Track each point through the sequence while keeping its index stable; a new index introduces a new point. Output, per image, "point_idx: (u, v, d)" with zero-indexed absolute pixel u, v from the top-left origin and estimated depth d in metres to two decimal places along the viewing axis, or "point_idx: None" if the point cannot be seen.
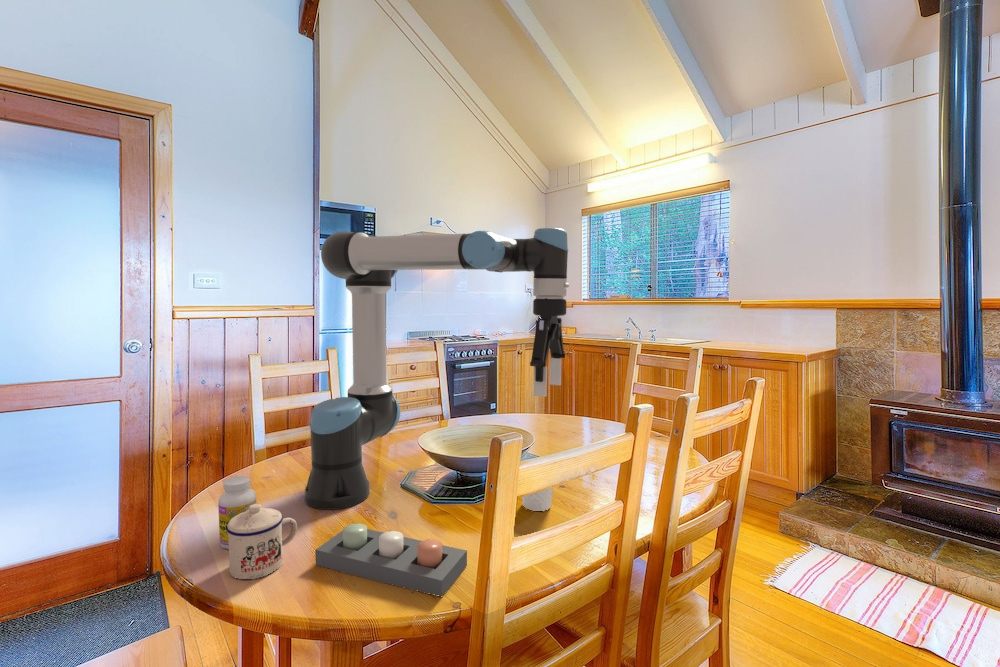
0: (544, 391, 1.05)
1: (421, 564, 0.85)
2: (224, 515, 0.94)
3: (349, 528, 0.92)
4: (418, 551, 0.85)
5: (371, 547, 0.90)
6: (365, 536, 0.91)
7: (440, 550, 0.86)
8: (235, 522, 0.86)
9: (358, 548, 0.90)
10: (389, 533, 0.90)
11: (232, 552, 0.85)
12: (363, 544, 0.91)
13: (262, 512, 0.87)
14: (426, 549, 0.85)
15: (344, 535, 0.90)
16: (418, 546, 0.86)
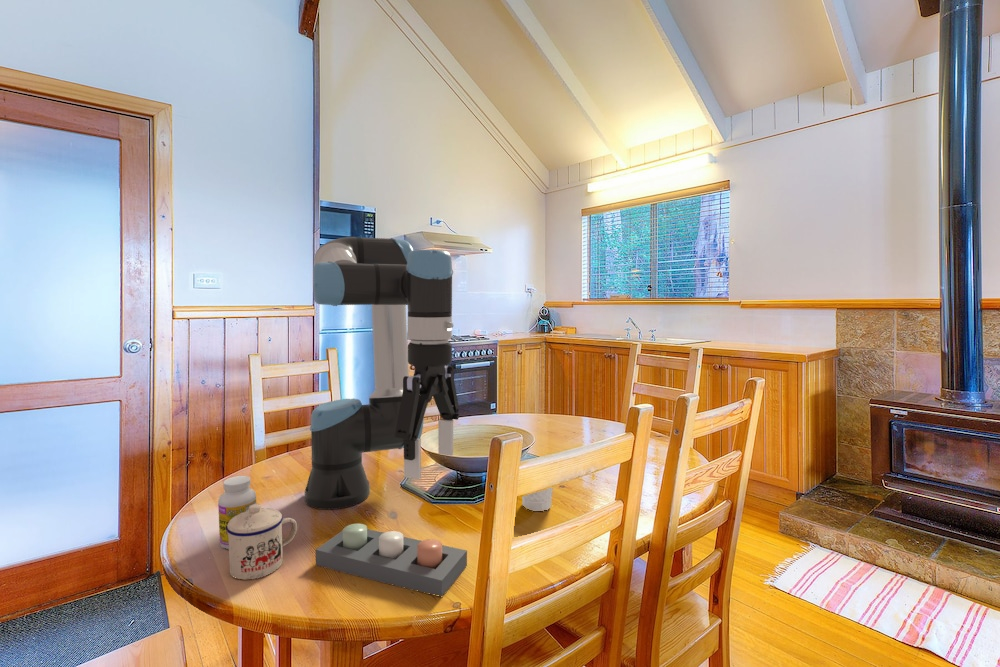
0: (417, 472, 0.79)
1: (421, 564, 0.85)
2: (224, 515, 0.94)
3: (349, 528, 0.92)
4: (418, 551, 0.85)
5: (371, 547, 0.90)
6: (365, 536, 0.91)
7: (440, 550, 0.86)
8: (235, 522, 0.86)
9: (358, 548, 0.90)
10: (389, 533, 0.90)
11: (232, 552, 0.85)
12: (363, 544, 0.91)
13: (262, 512, 0.87)
14: (426, 549, 0.85)
15: (344, 535, 0.90)
16: (418, 546, 0.86)
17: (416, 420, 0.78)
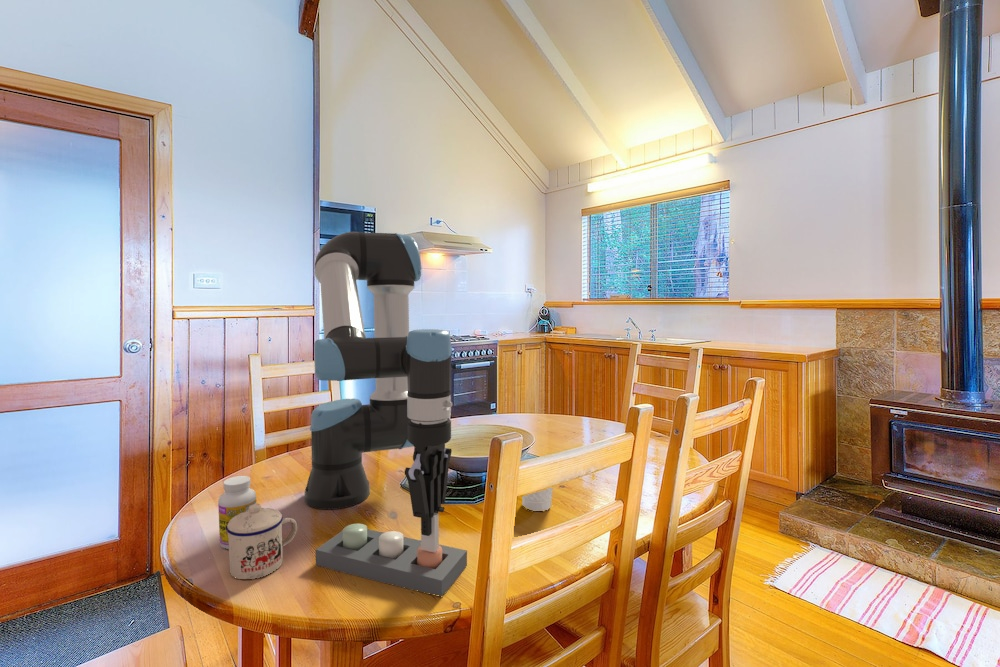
0: (433, 546, 0.85)
1: None
2: (224, 515, 0.94)
3: (349, 528, 0.92)
4: (418, 556, 0.85)
5: (371, 547, 0.90)
6: (365, 536, 0.91)
7: (440, 555, 0.86)
8: (235, 522, 0.86)
9: (358, 548, 0.90)
10: (389, 533, 0.90)
11: (232, 552, 0.85)
12: (363, 544, 0.91)
13: (262, 512, 0.87)
14: (426, 553, 0.85)
15: (344, 535, 0.90)
16: (418, 551, 0.86)
17: (428, 501, 0.83)
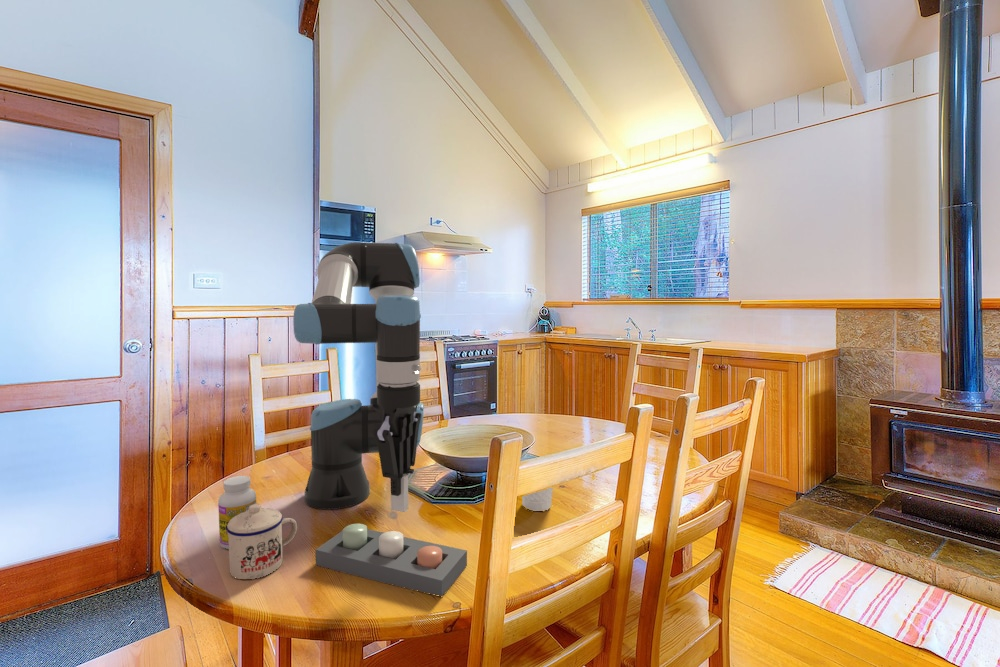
0: (402, 506, 0.88)
1: None
2: (224, 515, 0.94)
3: (349, 528, 0.92)
4: (418, 558, 0.85)
5: (371, 547, 0.90)
6: (365, 536, 0.91)
7: (440, 557, 0.86)
8: (235, 522, 0.86)
9: (358, 548, 0.90)
10: (389, 533, 0.90)
11: (232, 552, 0.85)
12: (363, 544, 0.91)
13: (262, 512, 0.87)
14: (426, 556, 0.85)
15: (344, 535, 0.90)
16: (418, 553, 0.86)
17: (397, 462, 0.86)
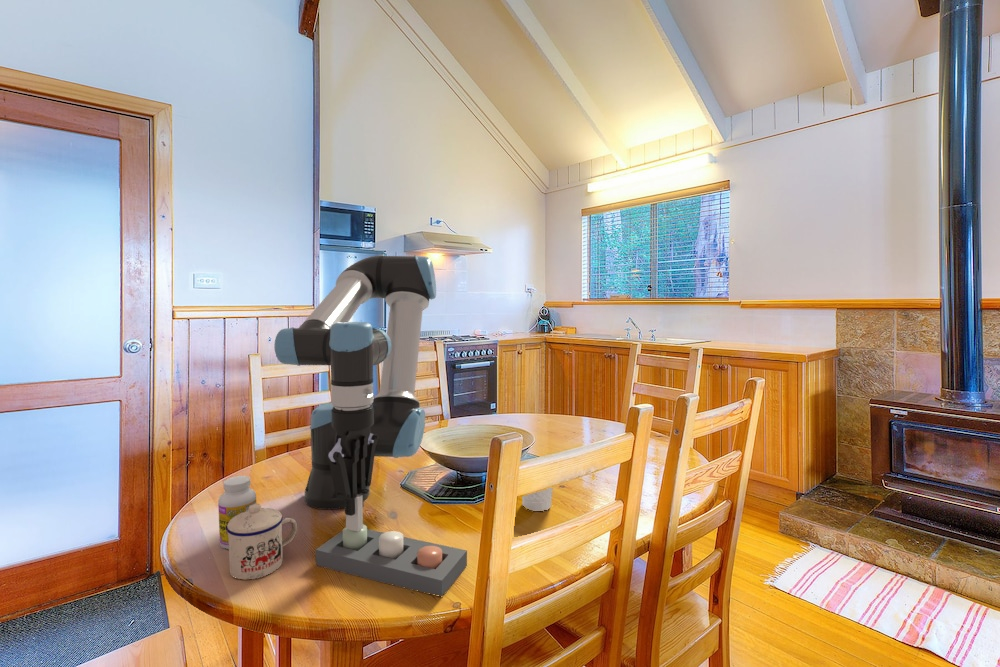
0: (356, 525, 0.91)
1: None
2: (224, 515, 0.94)
3: None
4: (418, 558, 0.85)
5: (371, 547, 0.90)
6: (365, 536, 0.91)
7: (440, 557, 0.86)
8: (235, 522, 0.86)
9: (358, 548, 0.90)
10: (389, 533, 0.90)
11: (232, 552, 0.85)
12: (363, 544, 0.91)
13: (262, 512, 0.87)
14: (426, 556, 0.85)
15: (344, 535, 0.90)
16: (418, 553, 0.86)
17: (350, 483, 0.89)
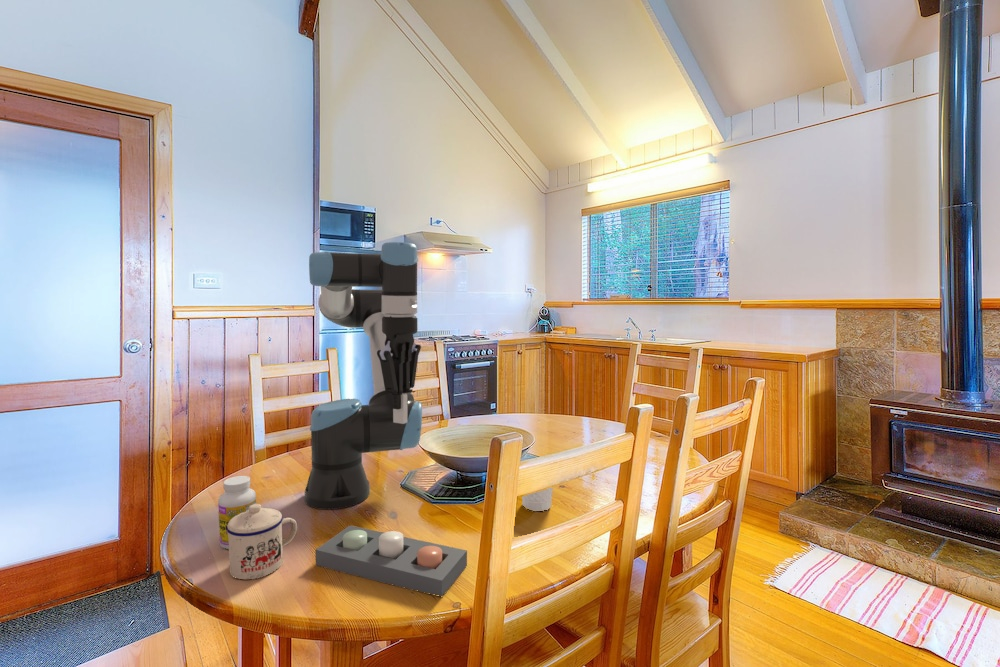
0: (402, 418, 1.06)
1: None
2: (224, 515, 0.94)
3: (349, 534, 0.92)
4: (418, 558, 0.85)
5: (371, 547, 0.90)
6: (365, 542, 0.92)
7: (440, 557, 0.86)
8: (235, 522, 0.86)
9: None
10: (389, 533, 0.90)
11: (232, 552, 0.85)
12: None
13: (262, 512, 0.87)
14: (426, 556, 0.85)
15: (344, 541, 0.90)
16: (418, 553, 0.86)
17: (397, 380, 1.04)
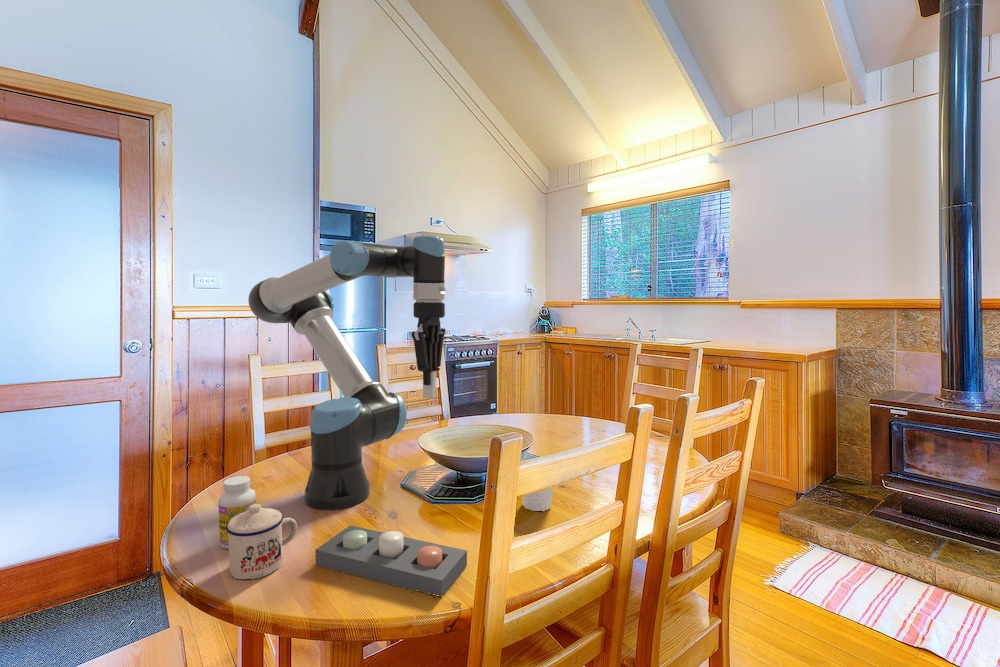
0: (431, 393, 1.18)
1: None
2: (224, 515, 0.94)
3: (349, 534, 0.92)
4: (418, 558, 0.85)
5: (371, 547, 0.90)
6: (365, 542, 0.92)
7: (440, 557, 0.86)
8: (235, 522, 0.86)
9: None
10: (389, 533, 0.90)
11: (232, 552, 0.85)
12: None
13: (262, 512, 0.87)
14: (426, 556, 0.85)
15: (344, 541, 0.90)
16: (418, 553, 0.86)
17: (428, 359, 1.17)
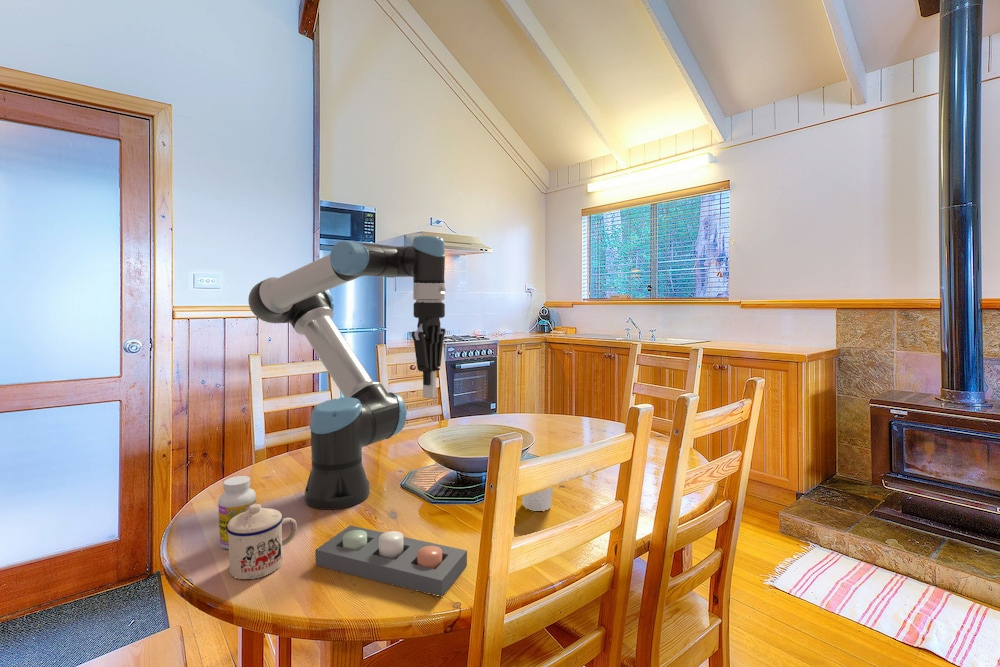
0: (431, 393, 1.18)
1: None
2: (224, 515, 0.94)
3: (349, 534, 0.92)
4: (418, 558, 0.85)
5: (371, 547, 0.90)
6: (365, 542, 0.92)
7: (440, 557, 0.86)
8: (235, 522, 0.86)
9: None
10: (389, 533, 0.90)
11: (232, 552, 0.85)
12: None
13: (262, 512, 0.87)
14: (426, 556, 0.85)
15: (344, 541, 0.90)
16: (418, 553, 0.86)
17: (428, 359, 1.17)
